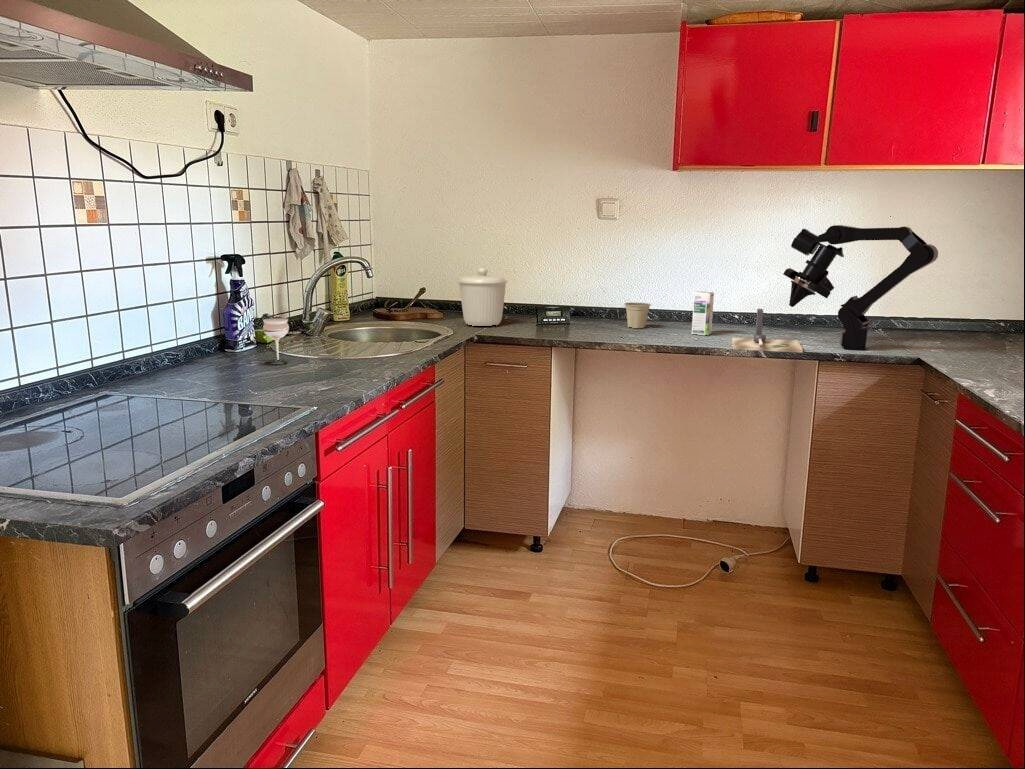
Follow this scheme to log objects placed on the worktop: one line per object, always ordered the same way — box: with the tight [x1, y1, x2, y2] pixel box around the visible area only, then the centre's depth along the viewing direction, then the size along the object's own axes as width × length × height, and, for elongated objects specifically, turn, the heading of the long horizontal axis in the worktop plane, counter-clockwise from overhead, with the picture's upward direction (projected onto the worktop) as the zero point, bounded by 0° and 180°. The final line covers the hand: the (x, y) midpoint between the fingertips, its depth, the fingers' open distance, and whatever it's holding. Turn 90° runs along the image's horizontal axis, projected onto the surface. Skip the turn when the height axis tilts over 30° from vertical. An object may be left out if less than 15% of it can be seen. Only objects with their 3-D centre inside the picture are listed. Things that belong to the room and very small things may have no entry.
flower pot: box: [624, 302, 652, 329], centre depth 277 cm, size 9×9×9 cm
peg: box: [753, 308, 767, 345], centre depth 241 cm, size 4×20×9 cm, turn 165°
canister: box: [457, 267, 508, 327], centre depth 280 cm, size 18×18×21 cm
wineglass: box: [262, 317, 290, 361], centre depth 209 cm, size 7×7×12 cm
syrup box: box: [691, 291, 715, 336], centre depth 262 cm, size 6×6×14 cm
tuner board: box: [731, 337, 804, 353], centre depth 240 cm, size 20×17×1 cm
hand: (790, 306), depth 243 cm, fingers closed
